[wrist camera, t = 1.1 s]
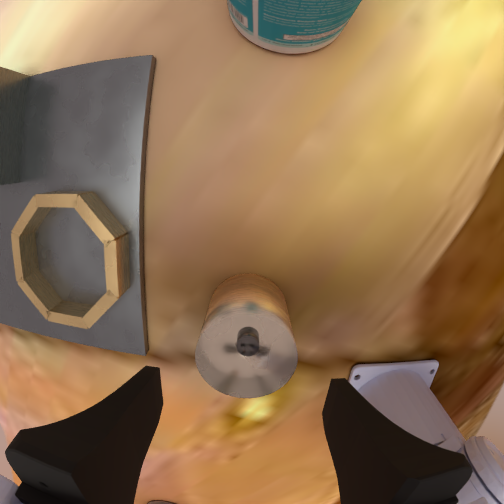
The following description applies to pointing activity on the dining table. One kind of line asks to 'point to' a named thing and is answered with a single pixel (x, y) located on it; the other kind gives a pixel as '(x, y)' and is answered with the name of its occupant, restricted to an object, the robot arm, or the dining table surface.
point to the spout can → (247, 338)
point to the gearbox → (75, 202)
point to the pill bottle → (291, 22)
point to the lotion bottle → (159, 502)
